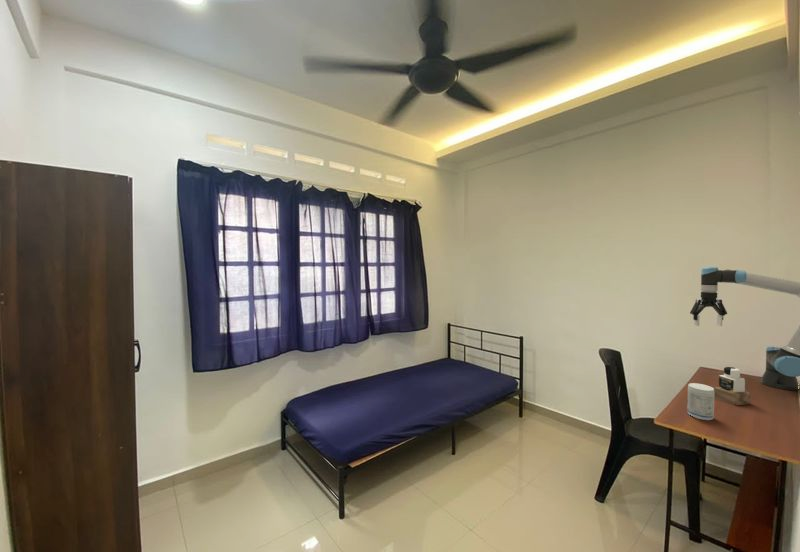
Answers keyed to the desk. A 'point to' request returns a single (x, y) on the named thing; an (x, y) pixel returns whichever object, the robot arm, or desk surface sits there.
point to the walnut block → (732, 396)
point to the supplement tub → (700, 401)
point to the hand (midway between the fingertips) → (708, 325)
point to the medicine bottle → (732, 380)
